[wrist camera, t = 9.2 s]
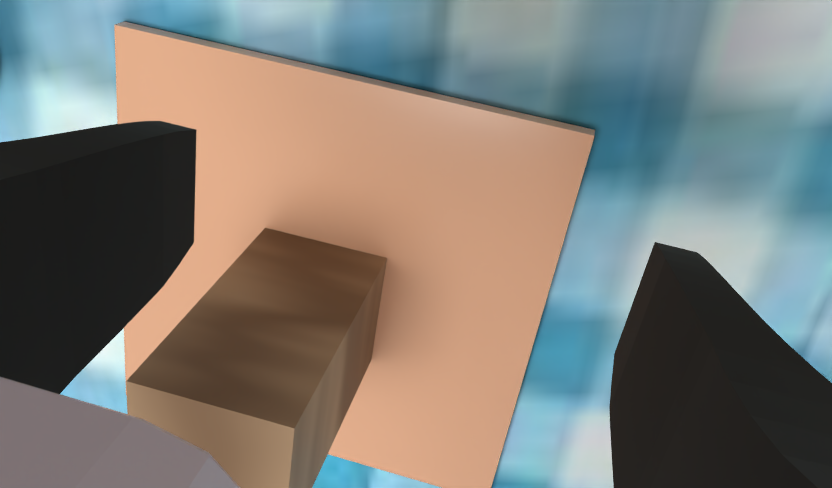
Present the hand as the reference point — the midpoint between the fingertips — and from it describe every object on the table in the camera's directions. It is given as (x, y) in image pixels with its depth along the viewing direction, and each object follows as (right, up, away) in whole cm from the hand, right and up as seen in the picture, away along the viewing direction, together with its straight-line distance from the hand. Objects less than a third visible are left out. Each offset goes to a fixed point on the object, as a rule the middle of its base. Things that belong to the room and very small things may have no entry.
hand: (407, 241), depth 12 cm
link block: (-3, -2, +13) cm, 14 cm away
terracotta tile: (-3, -1, +13) cm, 14 cm away
